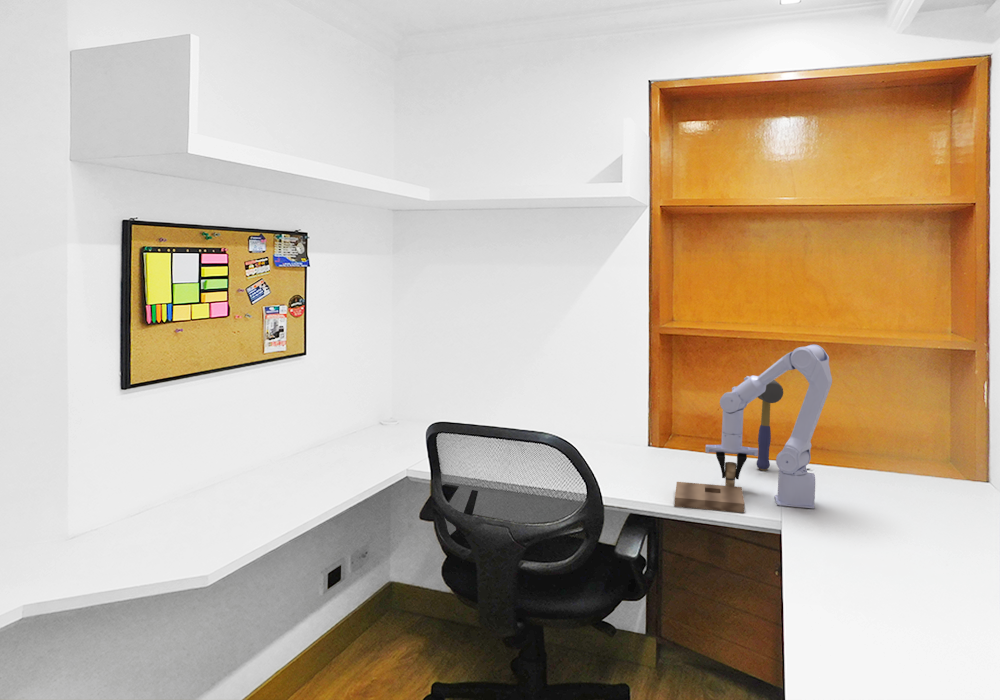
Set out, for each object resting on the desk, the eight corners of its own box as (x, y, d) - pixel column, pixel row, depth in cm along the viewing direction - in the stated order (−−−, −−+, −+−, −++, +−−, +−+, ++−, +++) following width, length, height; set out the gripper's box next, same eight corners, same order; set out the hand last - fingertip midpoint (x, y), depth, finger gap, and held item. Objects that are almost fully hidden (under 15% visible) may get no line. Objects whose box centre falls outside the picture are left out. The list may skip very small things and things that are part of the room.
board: (741, 495, 205) (741, 487, 205) (744, 512, 191) (744, 503, 191) (676, 489, 210) (676, 481, 210) (674, 506, 196) (674, 497, 196)
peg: (735, 485, 212) (736, 462, 212) (735, 488, 209) (736, 465, 208) (724, 484, 213) (725, 461, 212) (724, 487, 210) (725, 464, 209)
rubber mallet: (780, 475, 225) (785, 381, 221) (756, 475, 226) (761, 380, 222) (768, 464, 237) (773, 374, 234) (745, 464, 238) (750, 374, 234)
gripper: (757, 431, 211) (755, 476, 213) (706, 427, 215) (704, 472, 217) (759, 436, 205) (757, 482, 206) (706, 433, 208) (704, 478, 210)
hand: (730, 477), depth 211 cm, fingers closed on peg, 3 cm apart
